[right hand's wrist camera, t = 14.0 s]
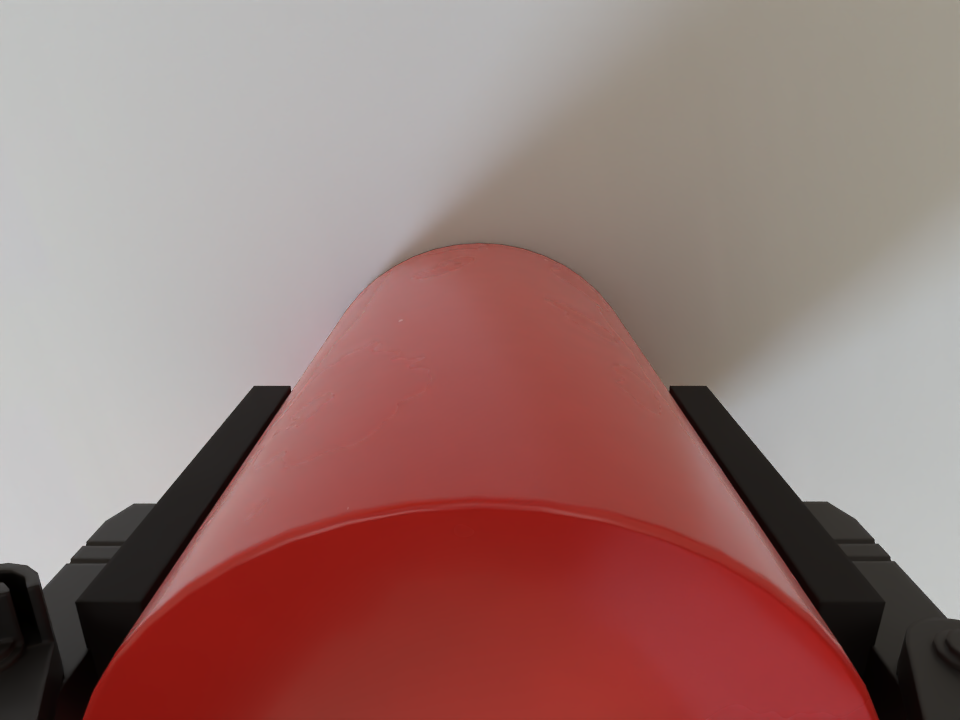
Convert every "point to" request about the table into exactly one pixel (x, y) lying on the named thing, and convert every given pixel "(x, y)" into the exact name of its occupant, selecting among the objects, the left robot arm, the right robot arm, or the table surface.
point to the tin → (480, 535)
